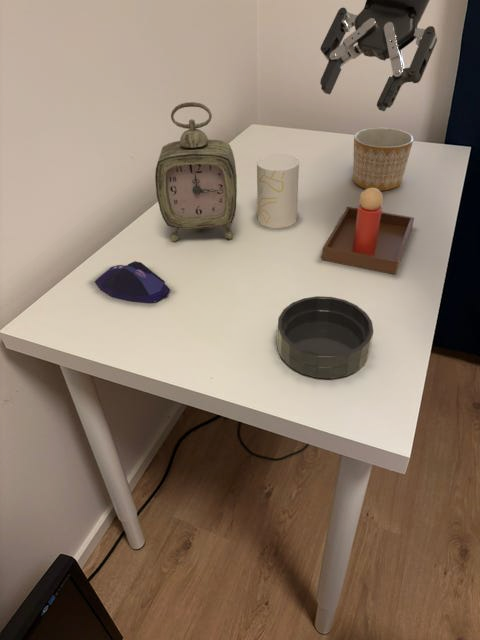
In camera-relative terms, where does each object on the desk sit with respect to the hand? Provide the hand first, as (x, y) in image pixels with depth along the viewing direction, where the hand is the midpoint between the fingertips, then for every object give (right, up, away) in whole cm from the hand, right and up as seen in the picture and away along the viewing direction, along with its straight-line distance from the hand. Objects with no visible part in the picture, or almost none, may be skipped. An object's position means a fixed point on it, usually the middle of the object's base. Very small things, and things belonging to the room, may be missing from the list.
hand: (352, 100), depth 66 cm
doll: (+7, -18, +23) cm, 30 cm away
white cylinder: (-7, -9, +35) cm, 37 cm away
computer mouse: (-33, -24, +19) cm, 45 cm away
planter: (+17, +2, +47) cm, 50 cm away
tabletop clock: (-23, -13, +32) cm, 41 cm away
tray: (+9, -15, +26) cm, 32 cm away
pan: (-3, -34, +4) cm, 34 cm away
